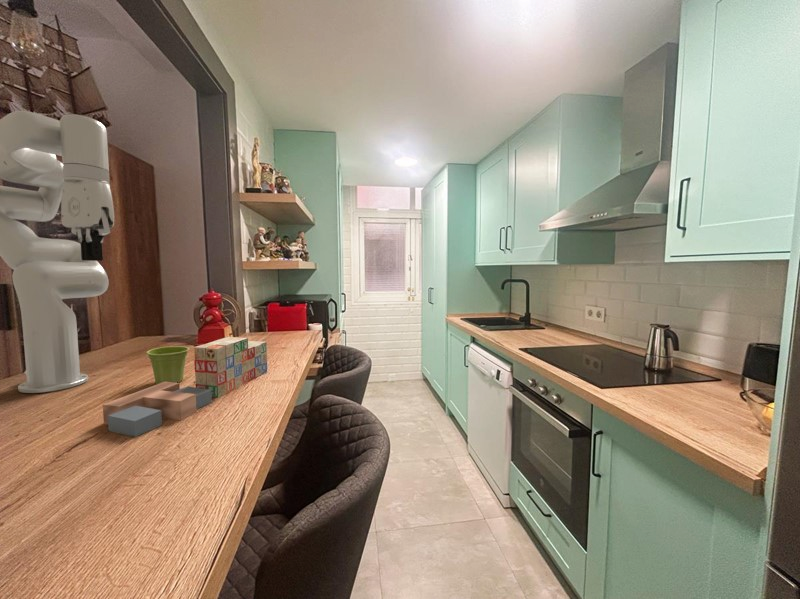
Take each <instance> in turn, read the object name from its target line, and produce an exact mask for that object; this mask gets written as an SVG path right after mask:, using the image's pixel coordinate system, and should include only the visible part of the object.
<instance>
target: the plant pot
mask: <svg viewBox="0 0 800 599" xmlns="http://www.w3.org/2000/svg"><path fill="white" fill-rule="evenodd" d="M189 351H190V348H189V347H188V346H183V345H182V346H180V345H179V346H177V345H176V346H175V345H174V346H173V345H172V346H164V347H163V346H161V347H157V348H152V349H150V350H147V351H146V355H148V358H149V360H150V363H151V368H152V372H153V376H154V381H155V382H154V383H155V385H157V384H160V383H162V382H175V383H177V382H178V383H180V382H182V381H183V379H184V373H185V365H186V357H187V355H188V352H189Z"/></svg>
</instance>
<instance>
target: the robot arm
mask: <svg viewBox="0 0 800 599" xmlns="http://www.w3.org/2000/svg"><path fill="white" fill-rule="evenodd" d="M108 145H109V144H108V131H107V128H106V126H105V125H104V124H103V123H102V122H100V121H98V119H94V118H93V117H89V116H85V115H82V114H75V113H73V114H71V113H68V114H67V113H66V114H63V115H62V116H61V117H60V119H59V120H58V119H55V118H52V117H50V116H46V115H43V114H39V113H36V112H32V111H29V110H14V111H12V112H10V113H7V114H6V115H4V116H3V117H2V118H1V119H0V179H1V180H4V181H7V182H9V183H15V184H20V185H27V186H33V187H38V188H39V189H38V190H32V189H31V190H30V189H25V188H20V187H19V188H18V187H12V186H5V185H0V257H1V259H2V260H3V261H4V263H5V264H6V265H7V266H8V267H10V269H11V270H13V272H12V276H11V277H12V284H13V286H14V289H15V293H16V296H17V299H18V302H19V307H20V313H21V324H22V326H21V327H22V333H23V334H22V336H23V346H24V347H23V348H24V358H25V360H24V361H25V370H24V372H23V373H24V375H26V381H24V382H22V383H19V385H18V387H17V389H18V392H20V393H22V394H39V393H40V394H41V393H49V392H56V391H60V390H66V389H70V388H74V387H76V386H79V385H82V384H85V383H86V382H87V381H89V375H88V374H86V373H82V372H81V371H80V369H81V368H80V367H81V366H80V356H79V355H80V354H79V353H80V351H79V343H78V342H79V341H78V340H79V339H78V338H79V337H78V328H77V326H78V325H77V324H78V323H77V316H76V314H75V312H74V310H72V308H71V307H69V306H68V304H66V303H65V302H63V300H67V299H79V298H80V299H81V298H92V297H98V296H101V295H103V294H104V293H105V292H106V291H107V290H108V288H109V285H110V284H109V282H110V280H109V278H108V274H107V272H106V270H105V269H104V267H103V266H102V265H101V264H100V263H99V262H101V261H103V260H104V259H103V258H104V257H103V243H104V238H105V236H106V235H109V234H111V229H112V228H113V227H114V226H115V210H114V201H113V195H112V191H111V185H110V167H109V151H108V150H109V148H108V147H109V146H108ZM57 156H59V157H62V161H60V160H58V158H57ZM60 204H61V206H60ZM60 207H61V209H60V212H61V213H60V214H61V225H62V226H63V227H65V228H69V229H71V230H70V231H71V234H72V235H75V236H77V238H78V241H79V242H78V241H76V240H72V239H71V240H70V239H62V238H61V239H59V238H46V237H39V236H38V235H37V234H36V233H35V232H34V231H33V229H31V228H30V227H29V226H27V225H26V224H24V223H22V222H20V220H21V221H30V222H31V221H32V222H44V223H45V222H49V221H52V220H53V219H54V218H55V217H56V216H57V213H58V211H59V208H60Z"/></svg>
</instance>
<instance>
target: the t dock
mask: <svg viewBox="0 0 800 599" xmlns="http://www.w3.org/2000/svg"><path fill="white" fill-rule="evenodd" d="M173 392H180V393H190V394H196V410H199V409H200V408H203V407H205V406H208V405H209V404H211V403H213V400H212V399H213V397H212V393H211V390H209V389H203V388H196V386H195V387H194V386H189V385H187V386H184V387H182V388H180V389H179V390H176V391H173ZM162 421H163V418H162V415H161V410H157V409H151V408H146V407H141V406H132V407H130V408H127V409H124V410H122V411H119V412H116V413H113V414H111V415H108V428H107V429H108V431H109V432H113V433H117V434H121V435H124V436H125V435H126V436H131V437H136V438H137V437H138V436H140V435H143V434H145V433H147V432H150V431H152V430H154V429H156V428H158V427H160V426H161V427H162V425H163V422H162Z"/></svg>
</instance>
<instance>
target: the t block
mask: <svg viewBox="0 0 800 599" xmlns="http://www.w3.org/2000/svg"><path fill="white" fill-rule="evenodd" d="M179 389H181V388H180V382H178V383H175V382H162V383H160V384H154V385H152V386H149V387H146V388H144V389H141V390H138V391H135V392H133V393H130V394H127V395H125V396H123V397H120V398H119V397H118V398H117V399H114V400H111V401H108V402H106V403H103V404H102V415H103V425H108V415H111V414H113V413H116V412H119V411H122V410H124V409H127V408H130V407H132V406H141V407H146V408H151V409H157V410H161V415H162V419H170V420H178V421H182V420H184V419H186V418H188V417H190V416H192V415H194V414H195V413H197V409H196V394H190V393H180V392H173V391H176V390H179Z"/></svg>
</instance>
